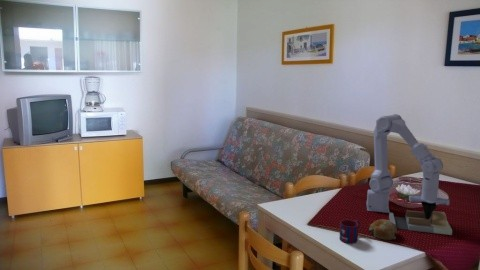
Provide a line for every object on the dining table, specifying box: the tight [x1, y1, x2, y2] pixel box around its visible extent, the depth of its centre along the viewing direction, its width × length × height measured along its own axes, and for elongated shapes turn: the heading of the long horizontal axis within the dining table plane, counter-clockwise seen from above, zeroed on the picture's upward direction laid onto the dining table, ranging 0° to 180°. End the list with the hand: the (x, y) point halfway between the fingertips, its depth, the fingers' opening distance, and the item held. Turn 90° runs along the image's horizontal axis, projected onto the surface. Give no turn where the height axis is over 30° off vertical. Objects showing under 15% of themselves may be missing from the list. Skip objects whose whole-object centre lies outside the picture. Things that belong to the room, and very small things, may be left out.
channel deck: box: [388, 209, 453, 236], centre depth 154 cm, size 22×12×4 cm, turn 73°
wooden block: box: [430, 210, 448, 226], centre depth 151 cm, size 5×5×4 cm
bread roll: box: [368, 218, 398, 241], centre depth 146 cm, size 10×10×8 cm
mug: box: [339, 219, 360, 245], centre depth 142 cm, size 7×10×7 cm
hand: (427, 219), depth 153 cm, fingers closed
